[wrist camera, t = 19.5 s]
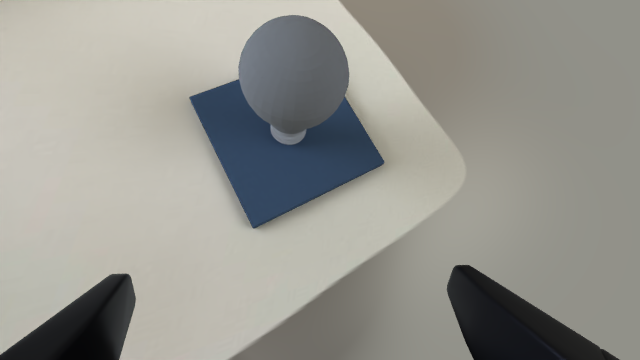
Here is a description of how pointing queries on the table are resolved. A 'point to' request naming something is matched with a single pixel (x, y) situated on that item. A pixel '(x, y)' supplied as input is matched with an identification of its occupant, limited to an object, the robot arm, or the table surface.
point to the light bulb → (293, 75)
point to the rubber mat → (281, 153)
